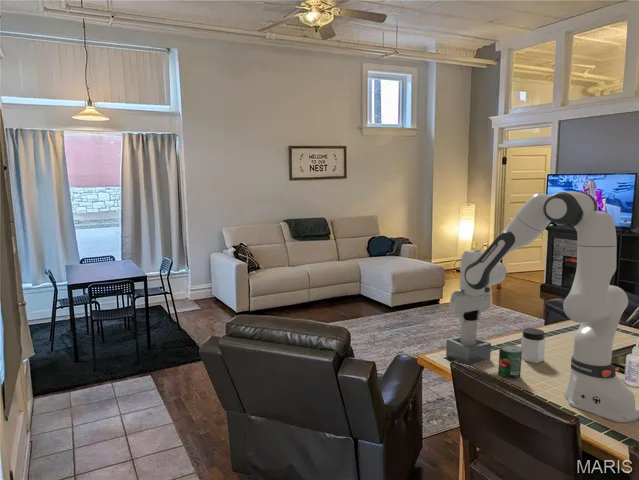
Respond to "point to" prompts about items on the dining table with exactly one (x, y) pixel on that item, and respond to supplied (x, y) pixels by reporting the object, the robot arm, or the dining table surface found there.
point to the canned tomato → (510, 362)
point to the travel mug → (469, 329)
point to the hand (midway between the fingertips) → (469, 321)
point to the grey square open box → (468, 351)
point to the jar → (533, 345)
